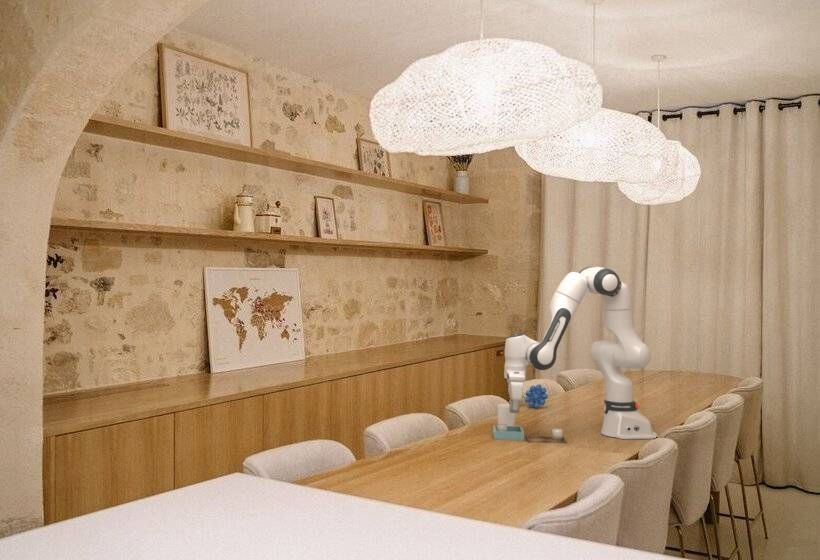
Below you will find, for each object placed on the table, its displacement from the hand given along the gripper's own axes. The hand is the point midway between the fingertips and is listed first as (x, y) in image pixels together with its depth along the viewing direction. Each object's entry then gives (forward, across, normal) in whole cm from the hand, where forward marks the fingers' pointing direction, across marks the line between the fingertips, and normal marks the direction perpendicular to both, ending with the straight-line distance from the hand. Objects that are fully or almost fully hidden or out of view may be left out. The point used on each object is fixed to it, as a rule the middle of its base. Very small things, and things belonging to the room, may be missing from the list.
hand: (514, 408), depth 299 cm
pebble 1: (+11, 0, -5) cm, 12 cm away
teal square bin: (+12, 0, -2) cm, 12 cm away
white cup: (+12, -18, -2) cm, 22 cm away
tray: (+12, +5, +12) cm, 18 cm away
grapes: (+12, -70, +18) cm, 73 cm away
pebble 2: (+2, 0, 0) cm, 2 cm away
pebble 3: (+11, +5, +16) cm, 21 cm away
